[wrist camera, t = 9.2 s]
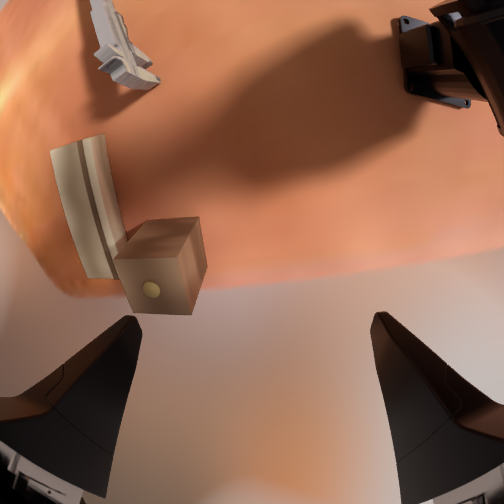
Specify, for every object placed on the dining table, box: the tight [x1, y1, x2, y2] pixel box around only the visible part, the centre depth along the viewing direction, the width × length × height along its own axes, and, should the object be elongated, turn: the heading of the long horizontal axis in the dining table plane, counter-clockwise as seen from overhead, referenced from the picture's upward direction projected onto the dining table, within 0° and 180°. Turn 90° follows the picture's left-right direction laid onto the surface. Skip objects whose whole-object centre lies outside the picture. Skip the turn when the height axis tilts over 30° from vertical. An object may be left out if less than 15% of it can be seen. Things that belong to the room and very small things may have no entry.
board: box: [50, 133, 128, 279], centre depth 19 cm, size 4×12×2 cm, turn 4°
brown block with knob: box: [113, 217, 207, 315], centre depth 19 cm, size 4×4×6 cm
